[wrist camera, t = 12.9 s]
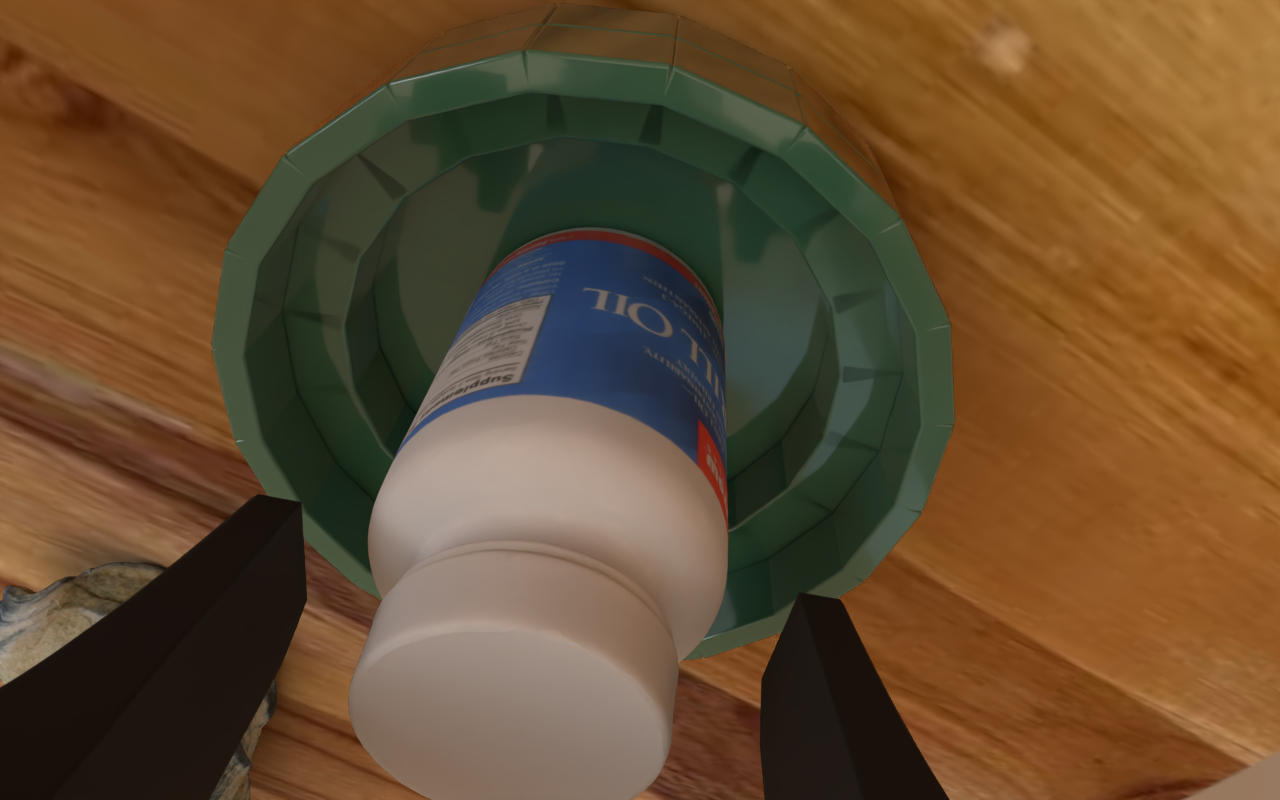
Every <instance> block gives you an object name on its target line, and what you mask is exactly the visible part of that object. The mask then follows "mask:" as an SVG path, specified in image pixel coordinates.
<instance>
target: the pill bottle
mask: <svg viewBox="0 0 1280 800" xmlns="http://www.w3.org/2000/svg"><path fill="white" fill-rule="evenodd" d="M725 381H726V376H725V343H724V337H723V331H722V326H721V321H720V318H719V314H718V311H717V309H716V306H715V304H714V302H713V300H712V298H711V296H710V293H709V292H708V290H707V289H706V287H705V286H704V284H703V283H702V281H701V280H700V278H699V277H698V276H697V275H696V273H695V272H694V271H693V270H692V269H691V268H690V267H689V266H688V265H687V264H686V263H685V262H684V261H683V260H681V259H680V258H679V257H678V256H676V255H675V254H674V253H672V252H671V251H670V250H668V249H667V248H665V247H663V246H662V245H660V244H658V243H656V242H654V241H652V240H649V239H647V238H644V237H642V236H639V235H636V234H633V233H629V232H626V231H622V230H617V229H611V228H600V227H584V228H572V229H566V230H561V231H557V232H554V233H550V234H547V235H544V236H541V237H539V238H537V239H534V240H532V241H530V242H528V243H526V244H525V245H523V246H521V247H519V248H518V249H516V250H515V251H514V252H512V253H511V254H509V255H508V256H507V257H506V258H505V259H504V260H502V261H501V262H500V263H499V264H498V265H497V267H496V268H495V269H494V270H493V271H492V272H491V274H490V275H489V276H488V278H487V279H486V280H485V282H484V283H483V284H482V286H481V287H480V289H479V291H478V293H477V294H476V297H475V299H474V301H473V302H472V304H471V306H470V308H469V310H468V312H467V314H466V316H465V318H464V320H463V322H462V324H461V326H460V328H459V330H458V332H457V334H456V336H455V338H454V340H453V342H452V344H451V346H450V348H449V350H448V352H447V354H446V356H445V358H444V361H443V363H442V364H441V366H440V368H439V370H438V372H437V375H436V377H435V378H434V380H433V382H432V384H431V386H430V388H429V390H428V392H427V394H426V396H425V398H424V400H423V402H422V404H421V406H420V408H419V410H418V412H417V414H416V416H415V418H414V420H413V422H412V424H411V426H410V428H409V430H408V432H407V434H406V436H405V438H404V440H403V442H402V444H401V446H400V448H399V450H398V452H397V454H396V456H395V458H394V460H393V462H392V465H391V467H390V469H389V471H388V473H387V475H386V477H385V480H384V482H383V484H382V486H381V488H380V491H379V493H378V496H377V498H376V501H375V504H374V506H373V510H372V514H371V519H370V524H369V530H368V554H369V560H370V566H371V570H372V575H373V578H374V581H375V584H376V587H377V589H378V591H379V593H380V595H381V598H382V602H381V604H380V605H379V607H378V610H377V612H376V614H375V616H374V619H373V624H372V627H371V630H370V632H369V635H368V637H367V640H366V643H365V645H364V648H363V651H362V653H361V656H360V659H359V661H358V664H357V667H356V669H355V672H354V674H353V677H352V680H351V685H350V689H349V698H348V706H349V716H350V720H351V723H352V727H353V729H354V731H355V733H356V735H357V737H358V739H359V741H360V742H361V744H362V745H363V747H364V748H365V750H366V751H367V752H368V753H369V755H370V756H371V757H372V758H373V759H374V761H375V762H376V763H377V764H378V765H379V766H381V767H382V768H383V769H384V770H385V771H386V772H387V773H389V774H390V775H392V776H393V777H394V778H395V779H397V780H398V781H399V782H400V783H402V784H403V785H405V786H407V787H408V788H410V789H412V790H413V791H415V792H417V793H419V794H421V795H423V796H425V797H427V798H430V799H432V800H632V799H634V798H635V797H637V796H638V795H639V794H640V793H642V792H643V791H645V790H646V789H647V788H648V787H649V786H650V785H651V784H652V783H653V782H654V781H655V779H656V778H657V776H658V775H659V773H660V772H661V770H662V768H663V766H664V764H665V762H666V759H667V757H668V753H669V749H670V745H671V739H672V726H673V715H674V703H675V692H676V689H677V683H678V676H679V667H678V663H679V662H681V661H682V660H683V659H684V658H685V657H687V656H688V655H689V654H690V653H691V652H692V651H693V649H694V648H695V647H696V646H697V645H698V644H699V643H700V642H701V640H702V639H703V638H704V636H705V635H706V634H707V632H708V631H709V629H710V627H711V626H712V624H713V622H714V620H715V618H716V616H717V613H718V611H719V608H720V606H721V603H722V600H723V596H724V591H725V587H726V580H727V568H728V539H729V538H728V498H727V451H726V385H725Z"/></svg>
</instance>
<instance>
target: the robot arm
mask: <svg viewBox="0 0 1280 800" xmlns="http://www.w3.org/2000/svg"><path fill="white" fill-rule="evenodd" d="M306 601H307V589H306V572H305V554H304V536H303V518H302V502H299V501H293V500H288V499H282V498H277V497H271V496H266V495H260V494H258V495H256V496H254V497H253V498H251V499H250V500H249V501H247V502H246V503H245V504H244V505H243V506H242V507H240V508H239V509H238V510H237V511H236V512H235V513H233V514H232V515H231V516H230V517H229V518H227V519H226V520H225V521H224V522H223V523H222V524H220V525H219V526H218V527H217V528H216V529H215V530H213V531H212V532H211V533H210V534H209V535H207V536H206V537H205V538H204V539H203V540H201V541H200V542H199V543H198V544H197V545H195V546H194V547H193V548H192V549H191V550H189V551H188V552H187V553H186V554H184V555H183V556H182V557H181V558H180V559H178V560H177V561H176V562H175V563H173V564H172V565H171V566H170V567H168V568H167V569H166V570H165V571H163V572H162V573H161V574H159V575H158V576H157V577H156V578H154V579H153V580H152V581H151V582H149V583H148V584H147V585H145V586H144V587H143V588H142V589H140V590H139V591H138V592H137V593H135V594H134V595H133V596H131V597H130V598H129V599H128V600H126V601H125V602H124V603H122V604H121V605H120V606H118V607H117V608H116V609H114V610H113V611H112V612H110V613H109V614H107V615H106V616H105V617H103V618H102V619H100V620H99V621H98V622H96V623H95V624H93V625H92V626H91V627H89V628H88V629H86V630H85V631H84V632H82V633H81V634H79V635H78V636H77V637H75V638H74V639H73V640H71V641H70V642H68V643H67V644H66V645H64V646H63V647H61V648H60V649H58V650H57V651H56V652H54V653H53V654H51V655H50V656H48V657H47V658H45V659H44V660H42V661H41V662H39V663H38V664H36V665H35V666H33V667H32V668H30V669H29V670H27V671H26V672H24V673H23V674H21V675H19V676H18V677H16V678H15V679H13V680H12V681H10V682H8V683H7V684H5V685H4V686H2V687H0V800H209V799H210V797H211V795H212V794H213V792H214V790H215V788H216V786H217V784H218V782H219V781H220V779H221V777H222V775H223V773H224V771H225V770H226V768H227V766H228V764H229V762H230V760H231V758H232V757H233V755H234V753H235V751H236V749H237V747H238V746H239V744H240V742H241V740H242V738H243V736H244V734H245V733H246V731H247V729H248V727H249V725H250V723H251V721H252V720H253V718H254V716H255V714H256V712H257V710H258V708H259V707H260V705H261V703H262V701H263V699H264V697H265V695H266V693H267V692H268V690H269V688H270V686H271V684H272V682H273V680H274V678H275V676H276V674H277V673H278V671H279V669H280V667H281V665H282V662H283V660H284V657H285V655H286V652H287V650H288V647H289V645H290V642H291V640H292V638H293V635H294V632H295V630H296V627H297V625H298V622H299V619H300V617H301V614H302V611H303V609H304V606H305V604H306ZM760 751H761V763H762V774H763V785H764V796H765V800H949V798H948V796H947V795H946V793H945V792H944V790H943V788H942V787H941V785H940V784H939V782H938V780H937V779H936V777H935V776H934V774H933V772H932V771H931V769H930V767H929V766H928V764H927V762H926V760H925V759H924V757H923V755H922V754H921V752H920V750H919V749H918V747H917V745H916V743H915V741H914V740H913V738H912V736H911V734H910V732H909V731H908V729H907V727H906V725H905V724H904V722H903V720H902V718H901V716H900V715H899V713H898V711H897V709H896V707H895V706H894V704H893V702H892V700H891V698H890V696H889V694H888V692H887V691H886V689H885V687H884V685H883V683H882V681H881V679H880V677H879V675H878V673H877V671H876V669H875V667H874V665H873V663H872V661H871V659H870V657H869V655H868V653H867V651H866V649H865V647H864V645H863V643H862V641H861V639H860V637H859V635H858V633H857V631H856V629H855V627H854V625H853V623H852V621H851V618H850V616H849V614H848V612H847V610H846V608H845V606H844V605H843V603H842V602H841V600H840V599H836V598H830V597H825V596H819V595H814V594H808V593H802V592H799V593H798V596H797V598H796V600H795V603H794V605H793V607H792V610H791V612H790V614H789V617H788V619H787V621H786V624H785V626H784V628H783V631H782V633H781V635H780V637H779V640H778V642H777V644H776V647H775V649H774V651H773V654H772V656H771V658H770V661H769V663H768V665H767V668H766V670H765V672H764V675H763V677H762V683H761V716H760Z"/></svg>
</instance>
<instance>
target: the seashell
mask: <svg viewBox="0 0 1280 800" xmlns="http://www.w3.org/2000/svg"><path fill="white" fill-rule="evenodd" d="M165 570H166V569H164V568H161V567H159V566H155V565H149V564H142V563H130V562H120V563H110V564H105V565H102V566H100V567H97V568H90V569H88V570H87V571H85V572H84V573H82V574H80V575H79V576H69V577H65V578H62V579H60V580H58V581H56V582H54V583H53V584H51V585H50V586H49V587H47V588H45V589H44V590H42V591H40V592H38V593H36V592H33V591H32V590H30V589H28V588H25V587H21V586H13V585H10V586H7V587H5V588H4V592H3V600H1V601H0V678H1V680H2V681H3V683H4V685H5V684H7V683H8V682H10V681H12V680H13V679H15V678H16V677H18V676H19V675H21V674H23V673H24V672H26V671H27V670H29V669H30V668H32V667H33V666H35V665H36V664H38V663H39V662H41V661H42V660H44V659H45V658H47V657H48V656H50V655H51V654H53V653H54V652H56V651H57V650H58V649H60V648H61V647H63V646H64V645H66V644H67V643H68V642H70V641H71V640H73V639H74V638H75V637H77V636H78V635H79V634H81V633H82V632H84V631H85V630H86V629H88V628H89V627H91V626H92V625H93V624H95V623H96V622H98V621H99V620H100V619H102V618H103V617H105V616H106V615H107V614H109V613H110V612H112V611H113V610H114V609H116V608H117V607H118V606H120V605H121V604H122V603H124V602H125V601H126V600H128V599H129V598H130V597H131V596H133V595H134V594H135V593H137V592H138V591H139V590H140V589H142V588H143V587H144V586H145V585H147V584H148V583H149V582H151V581H152V580H153V579H154V578H156V577H157V576H158V575H159V574H161V573H162V572H163V571H165ZM276 702H277V695H276V681H275V678H274V680H273V682H272V684H271V686H270V688H269V690H268V692H267V693H266V695H265V697H264V699H263V701H262V703H261V705H260V707H259V708H258V710H257V712H256V714H255V716H254V718H253V720H252V721H251V723H250V725H249V727H248V729H247V731H246V733H245V734H244V736H243V738H242V740H241V742H240V744H239V746H238V747H237V749H236V751H235V753H234V755H233V757H232V758H231V760H230V762H229V764H228V766H227V768H226V770H225V771H224V773H223V775H222V777H221V779H220V781H219V782H218V784H217V786H216V788H215V790H214V792H213V794H212V795H211V797H210V799H209V800H251V793H250V782H249V777H248V772H249V771H250V769H251V768H252V763H251V756H252V754H253V752H254V751H255V749H256V746H257V743H258V741H259V738H260V733H261V728H262V727H263V726H264V725H265V724H266V723H267V722H268V721H269V719H270V718H271V717H272V716H273V714H274V712H275V709H276Z"/></svg>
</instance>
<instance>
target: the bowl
mask: <svg viewBox="0 0 1280 800" xmlns="http://www.w3.org/2000/svg"><path fill="white" fill-rule="evenodd" d="M584 227H600V228H611V229H617V230H622V231H626V232H629V233H633V234H636V235H639V236H642V237H644V238H647V239H649V240H652V241H654V242H656V243H658V244H660V245H662V246H663V247H665V248H667V249H668V250H670V251H671V252H672V253H674V254H675V255H676V256H678V257H679V258H680V259H681V260H683V261H684V262H685V263H686V264H687V265H688V266H689V267H690V268H691V269H692V270H693V271H694V272H695V273H696V275H697V276H698V277H699V278H700V280H701V281H702V283H703V284H704V286H705V287H706V289H707V290H708V292H709V293H710V296H711V298H712V300H713V302H714V304H715V306H716V309H717V311H718V314H719V318H720V321H721V326H722V331H723V337H724V343H725V376H726V381H725V385H726V451H727V498H728V538H729V539H728V568H727V580H726V587H725V591H724V596H723V600H722V603H721V606H720V608H719V611H718V613H717V616H716V618H715V620H714V622H713V624H712V626H711V627H710V629H709V631H708V632H707V634H706V635H705V636H704V638H703V639H702V640H701V642H700V643H699V644H698V645H697V646H696V647H695V648H694V649H693V651H692V652H691V653H690V654H689V655H688V656H687V657H685V658H684V659H683V660H692V659H701V658H703V657H704V658H707V657H710V656H713V655H716V654H719V653H722V652H725V651H728V650H731V649H734V648H737V647H740V646H743V645H746V644H749V643H752V642H755V641H758V640H761V639H764V638H767V637H770V636H774V635H777V634H780V633H782V631H783V628H784V626H785V624H786V621H787V619H788V617H789V614H790V612H791V610H792V607H793V605H794V603H795V600H796V598H797V596H798V593H799V592H802V593H808V594H814V595H819V596H825V597H830V598H836V599H838V598H840V597H841V596H843V595H844V594H846V593H847V592H849V591H850V590H852V589H854V588H855V587H857V586H858V585H860V584H861V583H862V582H863V580H866V579H867V578H868V577H869V576H870V575H871V574H872V572H873V571H874V570H875V569H876V568H877V566H878V565H879V564H880V563H881V562H882V560H883V559H884V558H885V557H886V556H887V554H888V553H889V552H890V551H891V550H892V549H893V547H894V546H895V545H896V544H897V543H898V541H899V540H900V539H901V538H902V537H903V535H904V534H905V533H906V532H907V531H908V530H909V528H910V527H911V526H912V525H913V524H914V522H915V521H916V520H917V519H918V518H919V516H920V515H921V513H922V511H923V510H924V507H925V505H926V502H927V499H928V496H929V494H930V491H931V488H932V485H933V483H934V480H935V477H936V474H937V472H938V469H939V466H940V463H941V461H942V458H943V455H944V452H945V450H946V447H947V444H948V441H949V439H950V436H951V433H952V430H953V428H954V422H955V405H954V380H953V355H952V331H951V323H950V321H949V316H948V313H947V311H946V309H945V307H944V305H943V303H942V300H941V298H940V296H939V294H938V292H937V290H936V288H935V285H934V283H933V281H932V279H931V277H930V275H929V272H928V270H927V268H926V266H925V264H924V262H923V259H922V257H921V255H920V253H919V251H918V249H917V247H916V244H915V242H914V240H913V238H912V236H911V234H910V231H909V229H908V227H907V225H906V223H905V221H904V218H903V216H902V214H901V212H900V210H899V208H898V206H897V203H896V201H895V199H894V197H893V195H892V193H891V190H890V188H889V186H888V184H887V182H886V180H885V178H884V175H883V173H882V171H881V169H880V167H879V165H878V162H877V160H876V158H875V156H874V154H873V152H872V150H871V148H870V147H869V146H868V144H867V142H866V141H865V140H864V139H863V138H862V137H861V136H860V135H859V134H858V133H857V132H856V131H855V130H854V129H853V128H852V127H851V126H850V125H849V124H848V123H847V122H845V121H844V120H843V119H842V118H841V117H840V116H839V115H838V114H837V113H836V112H835V111H834V110H833V109H832V108H831V107H830V106H829V105H828V104H827V103H826V102H825V101H824V100H823V99H822V98H821V97H820V96H819V95H818V94H817V93H816V92H815V91H814V90H813V89H812V88H811V87H810V86H809V85H808V84H807V83H806V82H805V81H804V80H803V79H802V78H801V77H800V76H799V75H798V74H797V73H796V72H795V71H794V70H793V69H791V68H788V66H787V65H786V64H784V63H782V62H780V61H778V60H776V59H774V58H771V57H769V56H767V55H765V54H763V53H761V52H759V51H756V50H754V49H752V48H750V47H748V46H746V45H744V44H741V43H739V42H737V41H735V40H733V39H731V38H729V37H726V36H724V35H722V34H720V33H718V32H716V31H714V30H711V29H709V28H707V27H705V26H703V25H701V24H698V23H696V22H694V21H692V20H690V19H688V18H686V17H683V16H680V17H679V18H678V16H676V15H674V14H665V13H655V12H645V11H635V10H625V9H615V8H605V7H595V6H585V5H575V4H565V3H562V4H559V5H557V4H555V3H553V4H549V5H545V6H541V7H537V8H533V9H529V10H525V11H521V12H517V13H513V14H509V15H505V16H501V17H497V18H493V19H489V20H485V21H481V22H477V23H473V24H469V25H465V26H461V27H457V28H453V29H449V30H446V31H445V32H444V33H443V34H439V35H437V36H436V37H434V38H433V39H432V40H430V41H429V42H427V43H426V44H424V45H423V46H422V47H420V48H419V49H417V50H416V51H414V52H413V53H412V54H410V55H409V56H407V57H406V58H404V59H403V60H402V61H400V62H399V63H397V64H396V65H394V66H393V67H392V68H390V69H389V70H387V71H386V72H384V73H383V74H382V75H380V76H379V77H377V78H376V79H374V80H373V81H372V82H370V83H369V84H367V85H366V86H364V87H363V88H362V89H360V90H359V91H358V92H356V93H355V94H354V95H353V96H352V97H350V98H349V99H348V100H347V101H346V102H344V103H343V104H342V105H341V106H340V107H339V108H337V109H336V110H335V111H334V112H333V113H331V114H330V115H329V116H328V117H327V118H325V119H324V120H323V121H322V122H320V123H319V124H318V125H317V126H316V127H314V128H313V129H312V130H311V131H310V132H309V133H307V134H306V135H305V136H304V137H303V138H301V139H300V140H299V141H298V142H297V143H295V144H294V145H293V146H292V147H291V148H289V149H288V150H287V152H286V153H285V154H284V155H283V156H281V158H280V159H279V161H278V163H277V164H276V166H275V168H274V169H273V171H272V172H271V174H270V176H269V177H268V179H267V180H266V182H265V184H264V185H263V187H262V188H261V190H260V192H259V193H258V195H257V196H256V198H255V200H254V201H253V203H252V205H251V206H250V208H249V209H248V211H247V213H246V214H245V216H244V217H243V219H242V221H241V222H240V224H239V225H238V227H237V229H236V230H235V232H234V233H233V235H232V237H231V238H230V240H229V241H228V243H227V248H226V249H225V250H224V257H223V264H222V271H221V278H220V285H219V292H218V299H217V306H216V313H215V320H214V328H213V335H212V342H211V346H212V347H213V348H212V353H213V358H214V362H215V366H216V370H217V374H218V378H219V382H220V386H221V391H222V395H223V399H224V403H225V407H226V411H227V415H228V419H229V424H230V428H231V432H232V436H233V438H234V439H235V444H236V445H237V447H238V448H239V450H240V452H241V453H242V455H243V456H244V458H245V460H246V461H247V463H248V464H249V466H250V468H251V469H252V471H253V472H254V474H255V476H256V477H257V479H258V480H259V482H260V484H261V485H262V487H263V488H264V490H265V492H266V493H267V495H268V496H271V497H277V498H282V499H288V500H293V501H299V502H302V518H303V536H304V540H305V541H306V542H308V543H309V544H310V545H311V546H312V547H313V548H314V549H315V550H316V551H317V552H318V553H319V554H321V555H322V556H323V557H324V558H325V559H326V560H327V561H328V562H329V563H330V564H331V565H333V566H334V567H335V568H336V569H337V570H338V571H339V572H340V573H341V574H342V575H343V576H344V577H346V578H347V579H348V580H349V581H350V582H352V583H354V585H355V586H357V587H359V588H361V589H362V590H364V591H366V592H368V593H369V594H371V595H373V596H375V597H377V598H378V599H380V600H382V598H381V595H380V593H379V591H378V589H377V587H376V584H375V581H374V578H373V575H372V570H371V566H370V560H369V554H368V530H369V524H370V519H371V514H372V510H373V506H374V504H375V501H376V498H377V496H378V493H379V491H380V488H381V486H382V484H383V482H384V480H385V477H386V475H387V473H388V471H389V469H390V467H391V465H392V462H393V460H394V458H395V456H396V454H397V452H398V450H399V448H400V446H401V444H402V442H403V440H404V438H405V436H406V434H407V432H408V430H409V428H410V426H411V424H412V422H413V420H414V418H415V416H416V414H417V412H418V410H419V408H420V406H421V404H422V402H423V400H424V398H425V396H426V394H427V392H428V390H429V388H430V386H431V384H432V382H433V380H434V378H435V377H436V375H437V372H438V370H439V368H440V366H441V364H442V363H443V361H444V358H445V356H446V354H447V352H448V350H449V348H450V346H451V344H452V342H453V340H454V338H455V336H456V334H457V332H458V330H459V328H460V326H461V324H462V322H463V320H464V318H465V316H466V314H467V312H468V310H469V308H470V306H471V304H472V302H473V301H474V299H475V297H476V294H477V293H478V291H479V289H480V287H481V286H482V284H483V283H484V282H485V280H486V279H487V278H488V276H489V275H490V274H491V272H492V271H493V270H494V269H495V268H496V267H497V265H498V264H499V263H500V262H501V261H502V260H504V259H505V258H506V257H507V256H508V255H509V254H511V253H512V252H514V251H515V250H516V249H518V248H519V247H521V246H523V245H525V244H526V243H528V242H530V241H532V240H534V239H537V238H539V237H541V236H544V235H547V234H550V233H554V232H557V231H561V230H566V229H572V228H584Z"/></svg>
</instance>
